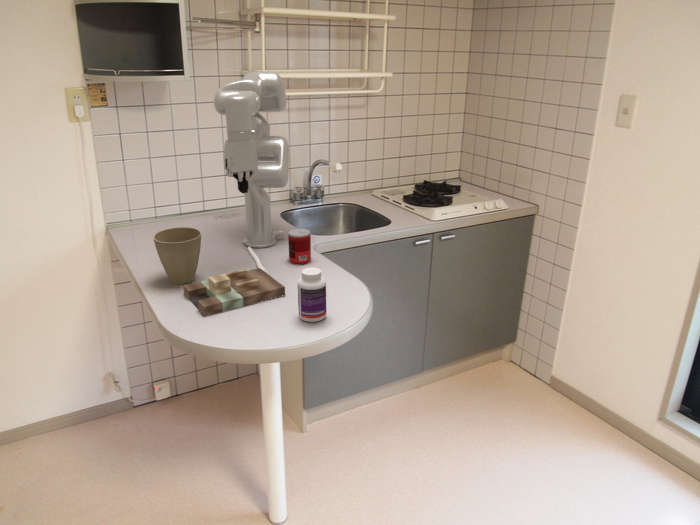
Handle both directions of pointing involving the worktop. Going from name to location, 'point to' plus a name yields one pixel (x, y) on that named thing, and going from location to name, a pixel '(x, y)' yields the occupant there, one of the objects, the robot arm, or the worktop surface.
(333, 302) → the worktop surface
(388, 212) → the worktop surface
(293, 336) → the worktop surface
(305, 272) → the pill bottle
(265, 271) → the white knobbed rod
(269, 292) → the wooden block puzzle
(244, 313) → the worktop surface
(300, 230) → the canned food
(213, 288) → the block
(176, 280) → the plant pot
